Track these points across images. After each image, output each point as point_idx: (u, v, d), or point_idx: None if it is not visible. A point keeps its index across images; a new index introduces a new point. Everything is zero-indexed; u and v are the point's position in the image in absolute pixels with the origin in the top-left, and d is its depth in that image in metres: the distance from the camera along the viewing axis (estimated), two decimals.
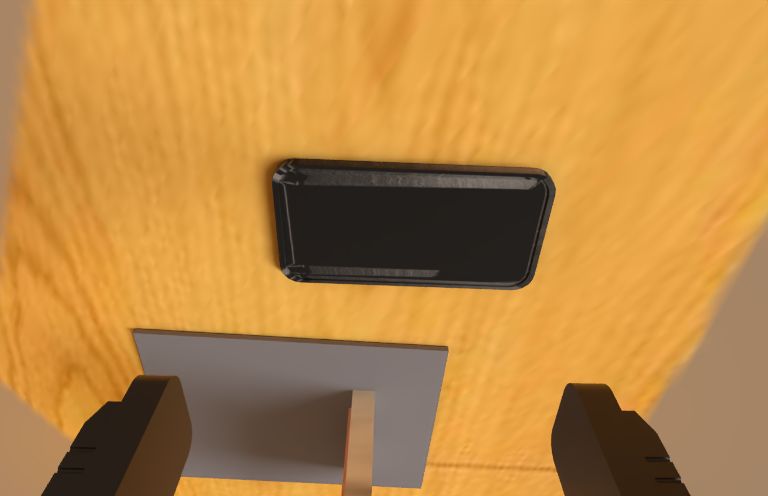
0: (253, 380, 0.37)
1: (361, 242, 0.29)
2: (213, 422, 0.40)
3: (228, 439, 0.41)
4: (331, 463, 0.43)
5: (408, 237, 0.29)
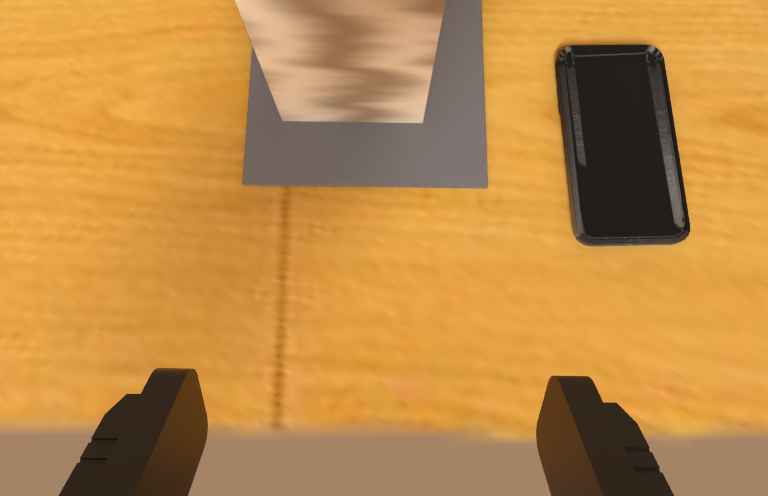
0: None
1: (604, 105, 0.37)
2: None
3: None
4: None
5: (614, 139, 0.37)
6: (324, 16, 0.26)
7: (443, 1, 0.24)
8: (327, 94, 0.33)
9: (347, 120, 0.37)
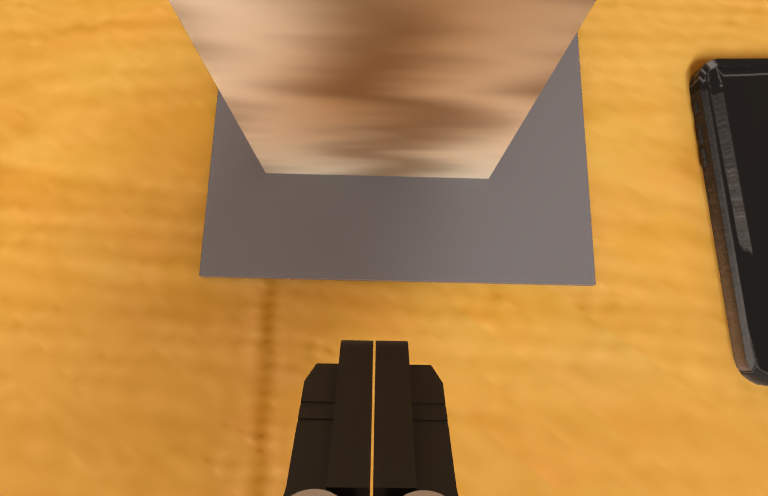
0: None
1: None
2: None
3: None
4: None
5: None
6: None
7: None
8: (339, 138, 0.19)
9: (369, 173, 0.23)
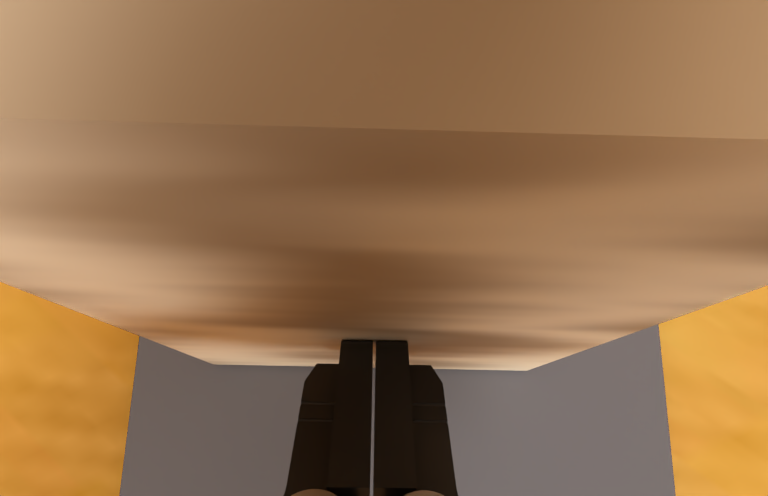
0: None
1: None
2: None
3: None
4: None
5: None
6: (292, 253, 0.06)
7: None
8: (312, 350, 0.13)
9: None
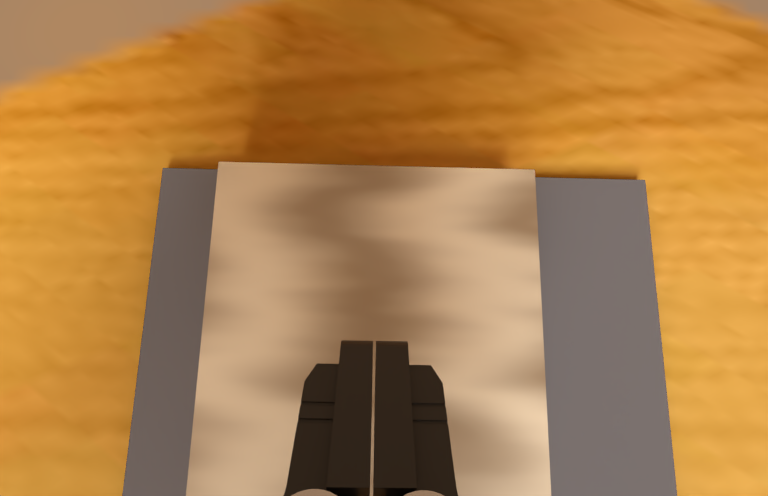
0: None
1: None
2: None
3: None
4: None
5: None
6: (348, 242, 0.16)
7: (533, 209, 0.16)
8: None
9: None
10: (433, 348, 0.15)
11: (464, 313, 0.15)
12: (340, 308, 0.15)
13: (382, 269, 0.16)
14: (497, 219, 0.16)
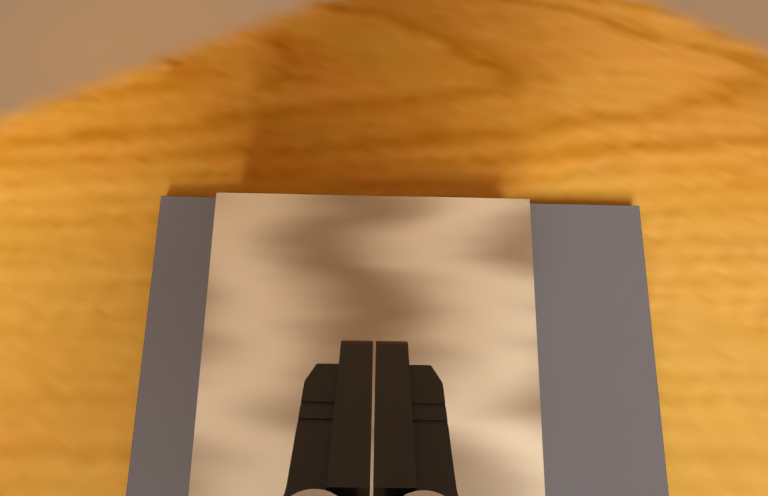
0: None
1: None
2: None
3: None
4: None
5: None
6: (345, 273, 0.16)
7: (528, 239, 0.16)
8: None
9: None
10: None
11: (460, 343, 0.15)
12: (337, 339, 0.15)
13: (379, 299, 0.16)
14: (492, 249, 0.16)
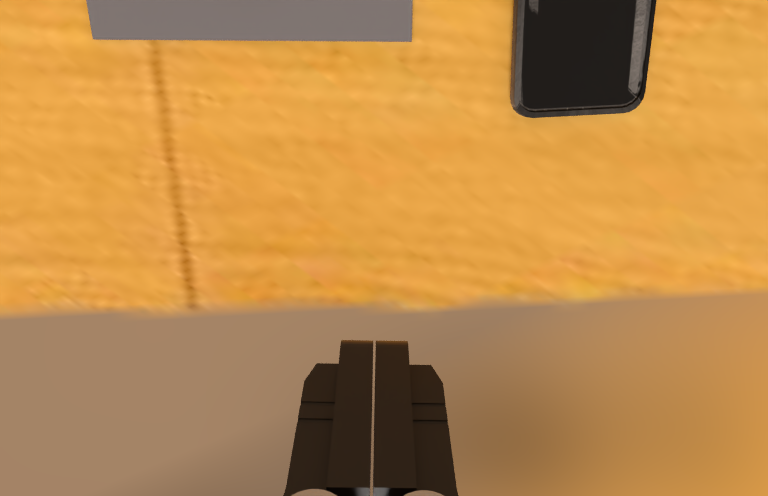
0: None
1: None
2: None
3: None
4: None
5: None
6: None
7: None
8: None
9: None
10: None
11: None
12: None
13: None
14: None
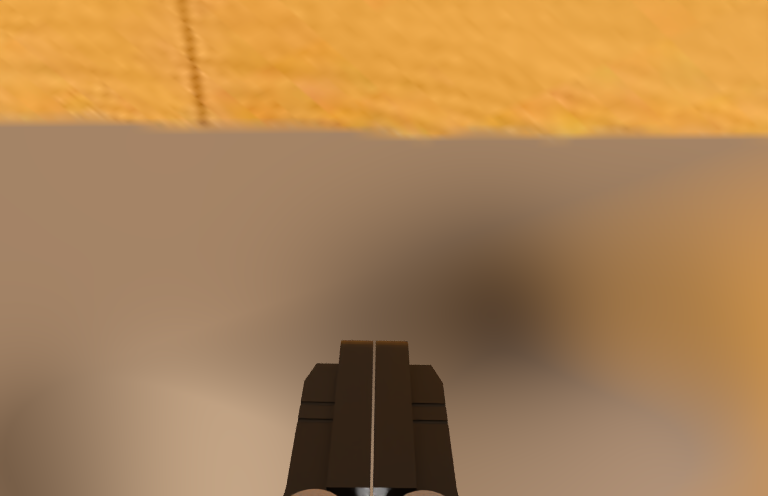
0: None
1: None
2: None
3: None
4: None
5: None
6: None
7: None
8: None
9: None
10: None
11: None
12: None
13: None
14: None
